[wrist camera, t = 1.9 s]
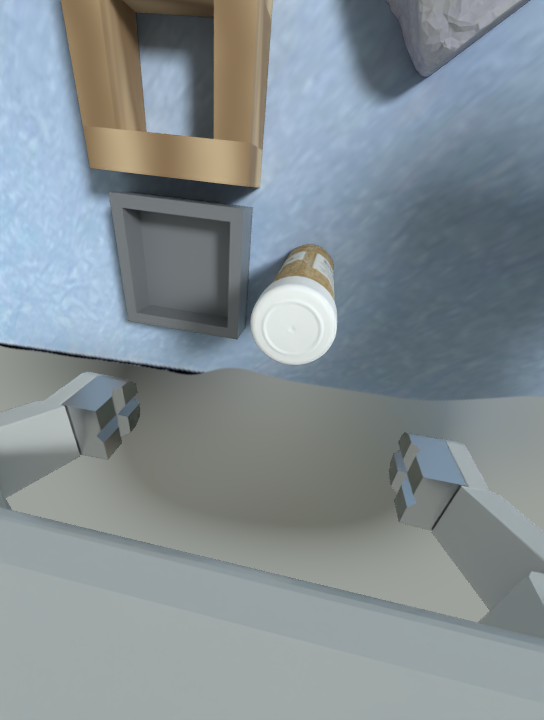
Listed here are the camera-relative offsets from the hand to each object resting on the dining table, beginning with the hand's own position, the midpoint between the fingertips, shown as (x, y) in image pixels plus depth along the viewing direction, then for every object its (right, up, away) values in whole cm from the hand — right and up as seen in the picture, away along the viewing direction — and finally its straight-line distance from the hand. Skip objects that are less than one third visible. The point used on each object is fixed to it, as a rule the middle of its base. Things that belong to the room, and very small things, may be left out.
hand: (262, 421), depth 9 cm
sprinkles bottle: (+4, +10, +18) cm, 21 cm away
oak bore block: (-6, +22, +13) cm, 26 cm away
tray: (-7, +11, +19) cm, 23 cm away
